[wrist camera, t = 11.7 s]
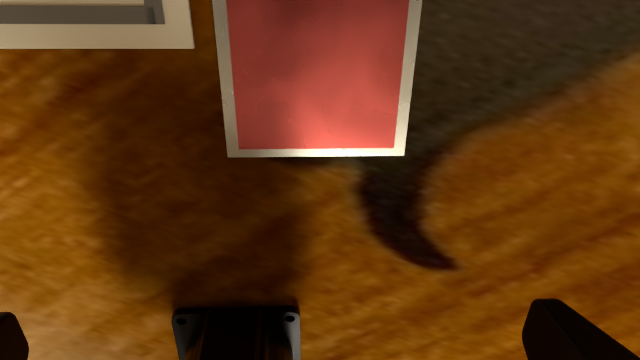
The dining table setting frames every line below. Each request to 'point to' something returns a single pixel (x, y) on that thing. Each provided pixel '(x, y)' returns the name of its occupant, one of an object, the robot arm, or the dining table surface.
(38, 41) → the card
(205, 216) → the dining table surface
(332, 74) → the ink pad
